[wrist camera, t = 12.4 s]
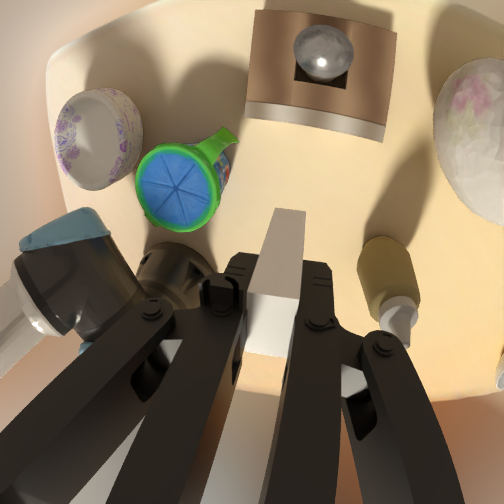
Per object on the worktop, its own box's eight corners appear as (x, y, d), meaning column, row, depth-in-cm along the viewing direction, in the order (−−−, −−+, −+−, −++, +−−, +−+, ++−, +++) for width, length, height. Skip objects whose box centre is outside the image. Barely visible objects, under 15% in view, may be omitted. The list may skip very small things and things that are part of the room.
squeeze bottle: (351, 232, 37) (366, 323, 22) (404, 224, 35) (447, 310, 20) (356, 278, 41) (365, 373, 26) (404, 271, 38) (433, 362, 23)
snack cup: (194, 223, 43) (163, 257, 34) (151, 173, 40) (111, 197, 31) (272, 164, 35) (255, 186, 27) (221, 104, 32) (188, 107, 24)
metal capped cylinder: (298, 82, 29) (290, 72, 20) (302, 45, 26) (295, 21, 17) (340, 89, 28) (350, 82, 19) (344, 52, 25) (356, 31, 16)
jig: (252, 115, 32) (244, 117, 29) (262, 18, 25) (255, 9, 21) (375, 138, 30) (382, 142, 27) (388, 39, 22) (397, 32, 19)
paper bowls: (162, 171, 39) (132, 188, 33) (94, 179, 43) (64, 196, 36) (149, 76, 31) (115, 75, 25) (81, 100, 35) (47, 107, 28)
